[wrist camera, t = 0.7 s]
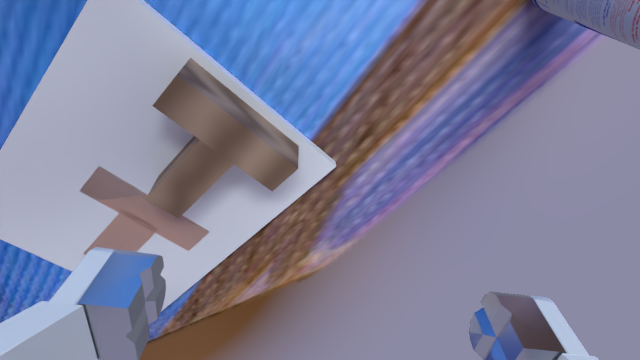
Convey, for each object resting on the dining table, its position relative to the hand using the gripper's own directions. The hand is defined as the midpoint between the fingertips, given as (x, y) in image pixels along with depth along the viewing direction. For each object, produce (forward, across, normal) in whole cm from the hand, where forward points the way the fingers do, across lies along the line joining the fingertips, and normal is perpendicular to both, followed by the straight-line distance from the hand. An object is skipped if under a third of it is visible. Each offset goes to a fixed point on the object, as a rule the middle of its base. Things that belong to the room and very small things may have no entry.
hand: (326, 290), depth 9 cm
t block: (+30, +10, +12) cm, 34 cm away
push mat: (+31, +19, +20) cm, 42 cm away
